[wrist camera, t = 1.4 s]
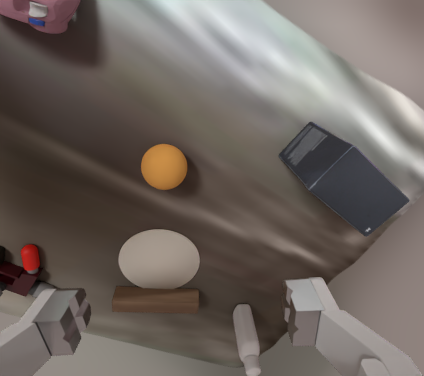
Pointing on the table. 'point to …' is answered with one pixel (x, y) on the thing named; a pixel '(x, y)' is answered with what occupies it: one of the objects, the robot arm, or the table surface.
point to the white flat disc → (159, 259)
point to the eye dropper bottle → (247, 339)
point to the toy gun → (22, 273)
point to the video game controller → (41, 13)
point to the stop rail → (155, 300)
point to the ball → (164, 166)
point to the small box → (343, 178)
